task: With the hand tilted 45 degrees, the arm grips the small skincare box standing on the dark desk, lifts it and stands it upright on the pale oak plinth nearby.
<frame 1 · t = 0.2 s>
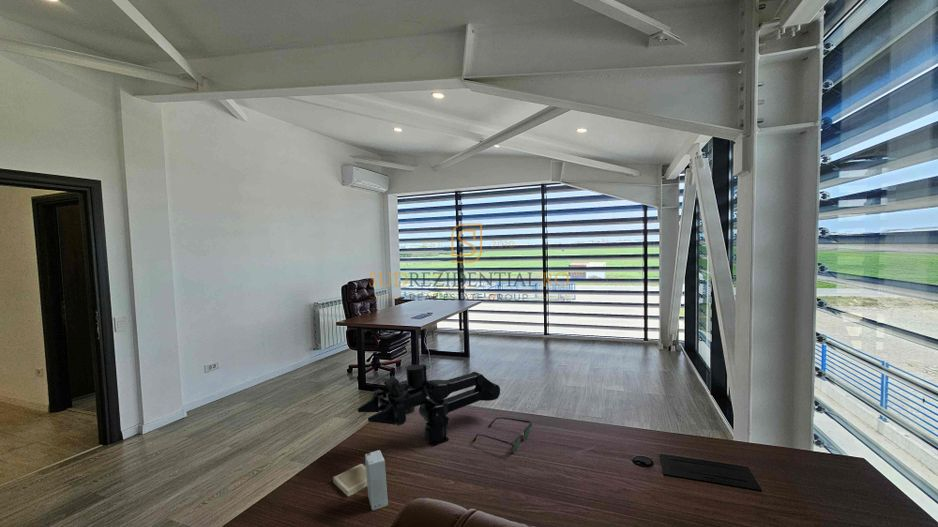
hand: (362, 414, 109), 16 cm above the table, tool horizontal, fingers open, 9 cm apart
skincare box: (377, 502, 95), on the table
sunglasses: (501, 440, 124), on the table
plinth: (355, 481, 103), on the table
supplement bottle: (406, 411, 149), on the table
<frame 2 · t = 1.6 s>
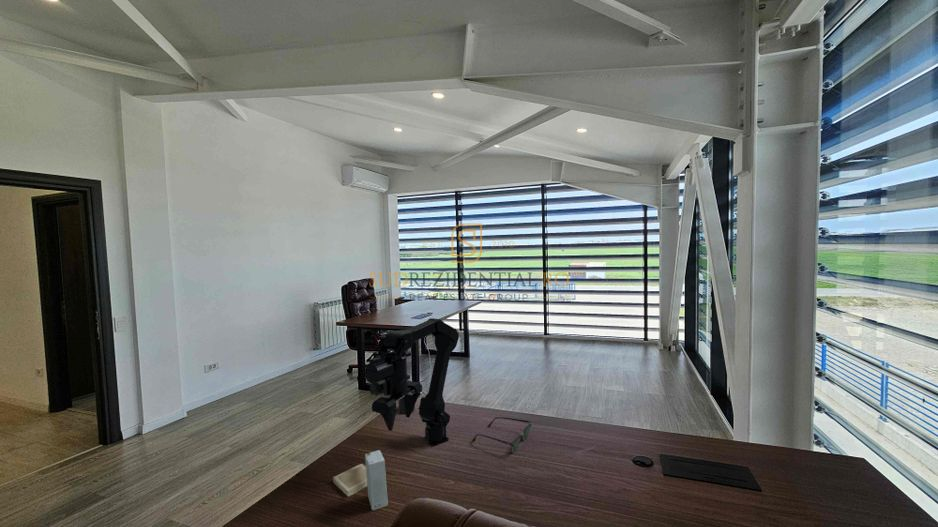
hand: (399, 423, 110), 13 cm above the table, tool pointing down, fingers open, 9 cm apart
nothing on the table moved.
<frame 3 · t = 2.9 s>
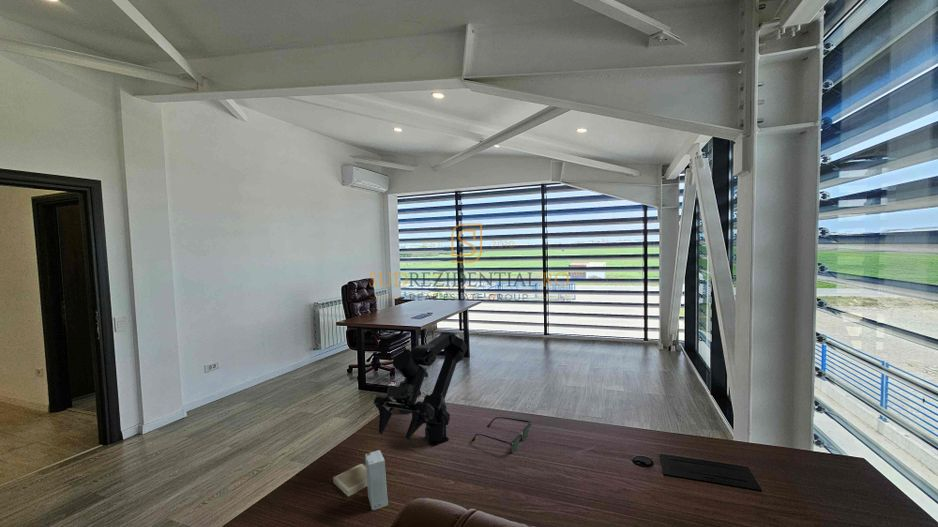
hand: (392, 436, 102), 13 cm above the table, tool tilted 45°, fingers open, 9 cm apart
nothing on the table moved.
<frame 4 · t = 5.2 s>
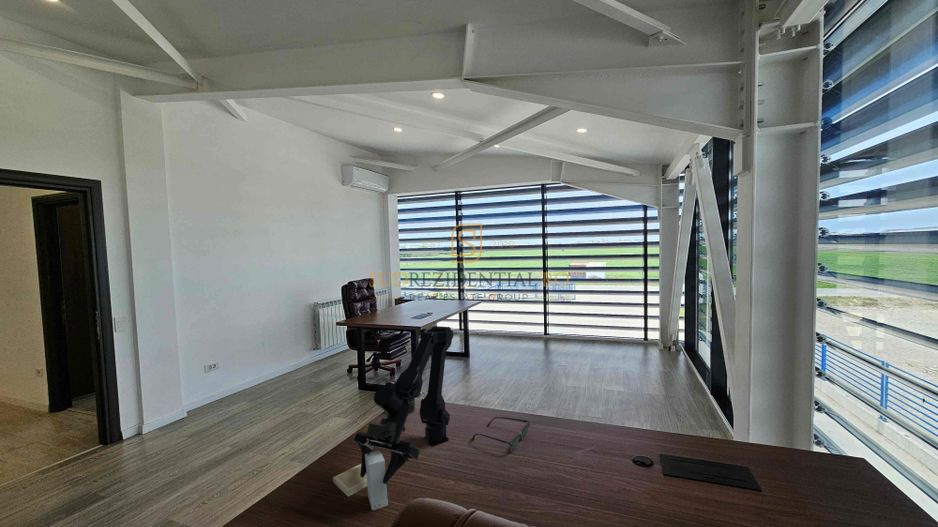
hand: (372, 480, 93), 7 cm above the table, tool tilted 45°, fingers closed on skincare box, 7 cm apart
skincare box: (377, 502, 95), on the table, touching gripper
everything else where it was.
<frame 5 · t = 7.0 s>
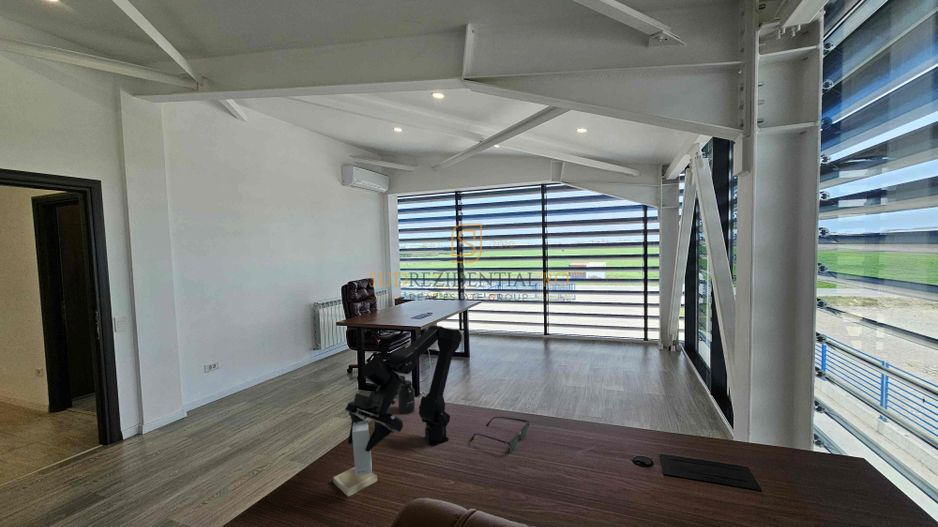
hand: (357, 447, 97), 13 cm above the table, tool tilted 45°, fingers closed on skincare box, 7 cm apart
skincare box: (363, 469, 99), point 6 cm above the table, touching gripper
when the fingers open (9 cm above the table, at t = 8.7 s): skincare box stays where it is, resting on plinth.
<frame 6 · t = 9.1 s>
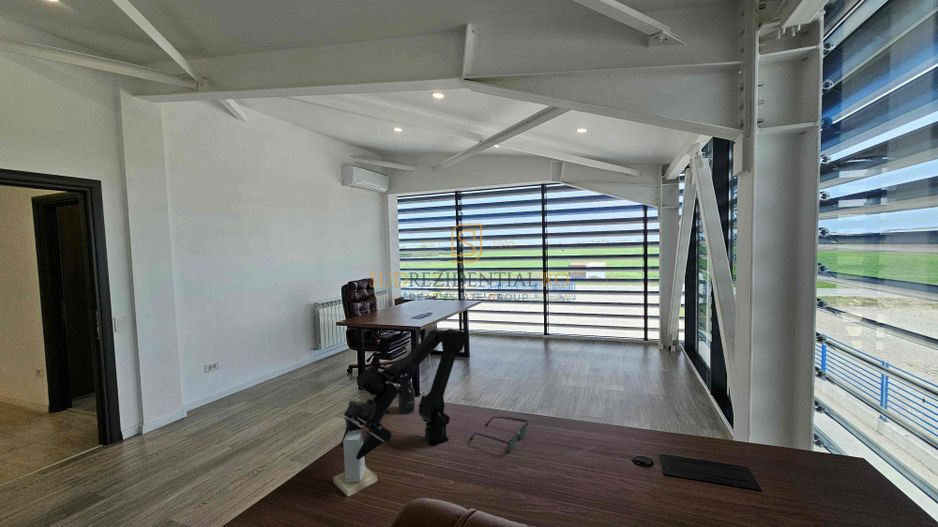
hand: (349, 452, 102), 9 cm above the table, tool tilted 45°, fingers open, 9 cm apart
skincare box: (355, 476, 104), point 1 cm above the table, touching plinth
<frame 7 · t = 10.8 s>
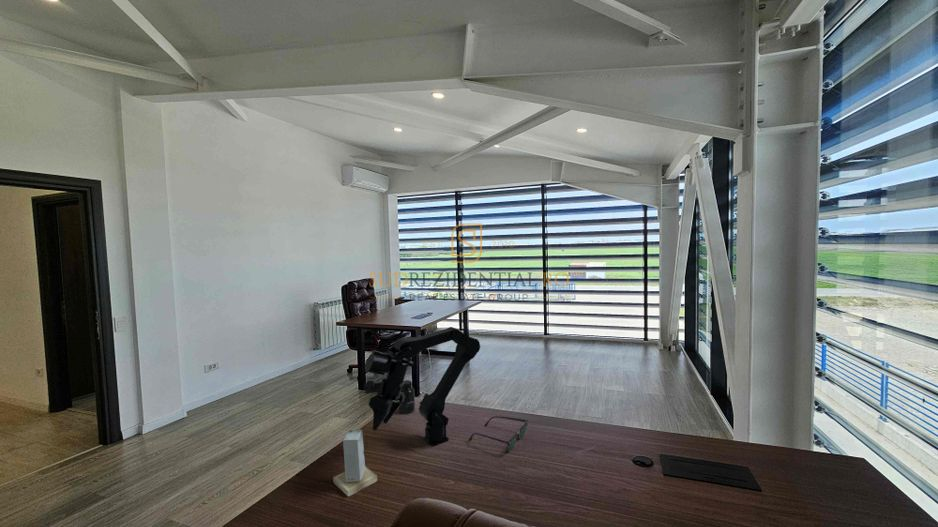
hand: (379, 426, 114), 11 cm above the table, tool tilted 20°, fingers open, 9 cm apart
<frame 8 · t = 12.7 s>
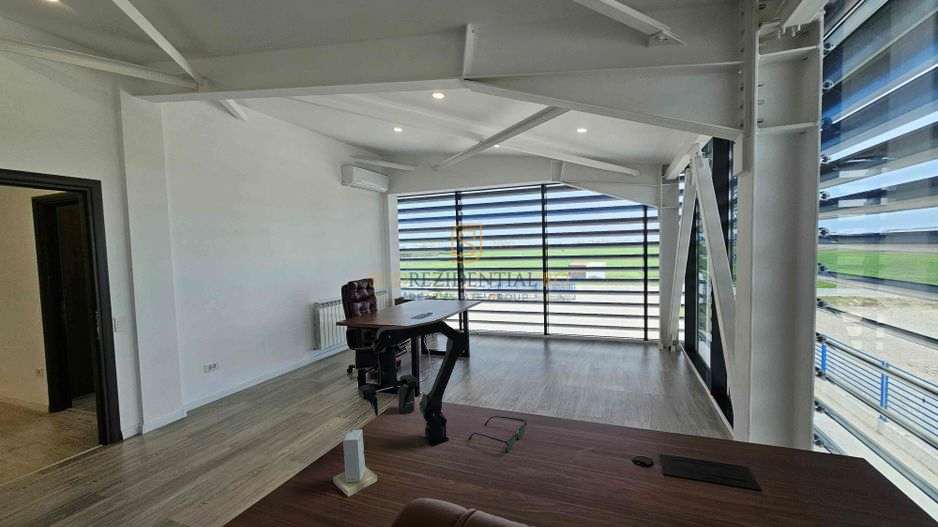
hand: (389, 411, 119), 13 cm above the table, tool pointing down, fingers open, 9 cm apart
at the end: skincare box inside the target area on the plinth (0.2 cm from its centre), point 1.4 cm above the plinth's base; skincare box tilted 0°; the gripper is holding nothing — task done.
